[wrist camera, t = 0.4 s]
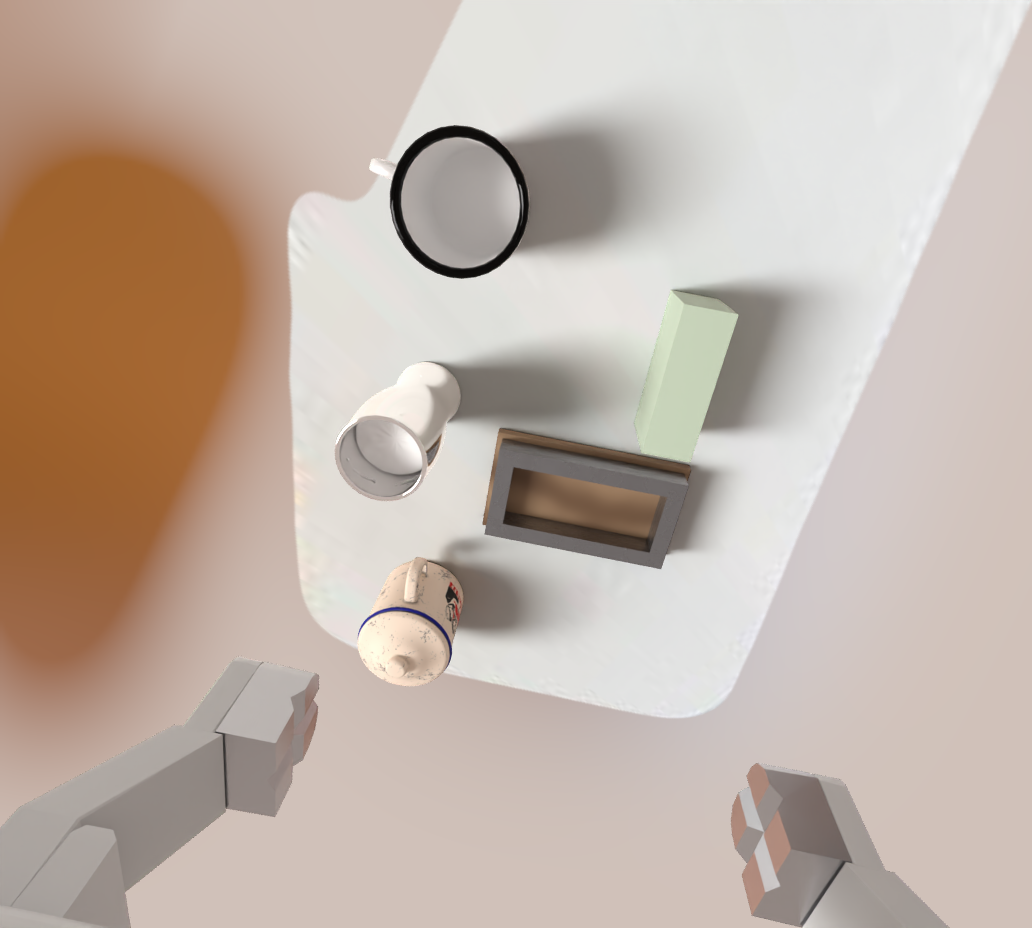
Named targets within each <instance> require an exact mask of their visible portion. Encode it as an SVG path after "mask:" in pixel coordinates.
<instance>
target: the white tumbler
mask: <svg viewBox="0 0 1032 928" xmlns="http://www.w3.org/2000/svg"><path fill="white" fill-rule="evenodd" d="M460 401H461V393H460V388H459V385H458V382H457V380H456V379H455V377H454V376H453V375H452V374H451V373H450V372H449V371H448V370H447V369H446V368H444V367H442V366H441V365H438V364H435V363H431V362H420V363H416V364H413V365H411V366H409V367H408V368H406V369H405V370H404V371H403V372H402V373H401V375H400V376H399V378H398V380H397V383H396V385H394V386H391V387H389V388H386V389H384V390H382V391H380V392H379V393H377V394H375V395H374V396H372V397H371V398H370V399H368V400H367V401H366V402H365V403H364V404H363V405H362V406H361V407H360V408H359V409H358V410H357V411H356V413H355V414H354V415H353V416H352V418H351V419H350V421H349V422H348V424H347V425H346V426H345V427H344V428H343V430H342V431H341V432H340V434H339V436H338V438H337V441H336V445H335V460H336V464H337V467H338V470H339V472H340V474H341V475H342V477H343V478H344V480H345V481H346V482H347V483H348V484H349V485H350V486H351V487H352V488H353V489H354V490H356V491H357V492H358V493H360V494H362V495H364V496H366V497H368V498H371V499H375V500H380V501H394V500H399V499H402V498H405V497H407V496H409V495H410V494H412V493H413V492H414V491H416V490H417V489H418V487H419V486H420V485H421V483H422V482H423V480H424V479H425V477H426V476H427V475H428V473H429V472H430V471H431V469H432V468H433V466H434V464H435V463H436V461H437V459H438V457H439V455H440V453H441V450H442V448H443V445H444V441H445V436H446V427H447V421H449V420H450V419H451V418H452V417H453V416H454V415H455V413H456V412H457V410H458V408H459V405H460Z"/></svg>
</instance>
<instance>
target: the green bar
mask: <svg viewBox="0 0 1032 928" xmlns="http://www.w3.org/2000/svg"><path fill="white" fill-rule="evenodd" d="M738 316H739V314H737V313H736V312H735V311H733V310H732V309H731V308H730V307H728V306H727V305H726V304H724V303H723V302H722V301H720V300H719V299H716V298H711V297H705V296H700V295H695V294H690V293H685V292H679V291H674V290H671V291H670V294H669V298H668V302H667V305H666V309H665V312H664V316H663V320H662V323H661V327H660V331H659V334H658V338H657V341H656V345H655V349H654V352H653V356H652V360H651V363H650V367H649V370H648V374H647V378H646V381H645V385H644V389H643V392H642V396H641V400H640V403H639V407H638V410H637V414H636V418H635V421H634V425H635V429H636V433H637V437H638V442H639V446H640V450H641V453H643V454H648V455H654V456H659V457H664V458H669V459H674V460H679V461H684V462H689V463H690V462H691V459H692V455H693V452H694V449H695V446H696V443H697V440H698V437H699V434H700V431H701V428H702V425H703V422H704V419H705V416H706V413H707V410H708V407H709V404H710V401H711V398H712V395H713V392H714V389H715V386H716V382H717V379H718V376H719V373H720V370H721V367H722V364H723V361H724V358H725V355H726V352H727V349H728V346H729V343H730V340H731V337H732V334H733V331H734V328H735V325H736V322H737V319H738Z"/></svg>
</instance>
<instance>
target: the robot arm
mask: <svg viewBox="0 0 1032 928" xmlns="http://www.w3.org/2000/svg"><path fill="white" fill-rule="evenodd" d="M318 689H319V675H318V674H316V673H312V672H308V671H303V670H299V669H295V668H290V667H286V666H281V665H277V664H273V663H269V662H263V661H258V660H254V659H249V658H245V657H240V656H238V657H236V658H235V659H234V660H232V661H231V662H230V663H229V664H228V666H227V667H226V668H225V670H224V671H223V672H222V674H221V675H220V676H219V678H218V679H217V680H216V682H215V683H214V684H213V686H212V687H211V688H210V690H209V691H208V693H207V694H206V695H205V697H204V698H203V699H202V701H201V702H200V704H199V705H198V706H197V707H196V709H195V710H194V711H193V713H192V714H191V715H190V717H189V718H188V719H187V721H186V722H185V724H184V725H183V726H180V725H173V726H171V727H169V728H167V729H165V730H163V731H162V732H160V733H157V734H156V735H154V736H152V737H150V738H148V739H146V740H144V741H143V742H141V743H139V744H137V745H135V746H133V747H131V748H129V749H127V750H126V751H124V752H122V753H120V754H118V755H116V756H115V757H112V758H111V759H109V760H107V761H105V762H103V763H101V764H99V765H98V766H96V767H94V768H92V769H90V770H88V771H86V772H85V773H82V774H80V775H79V776H77V777H75V778H73V779H71V780H69V781H67V782H65V783H64V784H62V785H60V786H58V787H56V788H54V789H53V790H51V791H49V792H47V793H45V794H43V795H41V796H39V797H37V798H36V799H34V800H32V801H30V802H28V803H26V804H24V805H22V806H20V807H19V808H18V809H17V810H16V811H15V812H14V814H12V815H11V817H10V818H9V819H8V820H7V821H6V822H5V824H3V825H2V826H1V828H0V928H131V926H130V920H129V914H128V907H127V901H126V895H125V892H126V891H127V890H128V889H130V888H131V887H132V886H133V885H135V884H136V883H137V882H139V881H140V880H141V879H142V878H144V877H145V876H146V875H147V874H149V873H150V872H151V871H152V870H153V869H155V868H156V867H157V866H159V865H160V864H161V863H162V862H164V861H165V860H166V859H167V858H169V857H170V856H171V855H172V854H173V853H175V852H176V851H177V850H178V849H180V848H181V847H182V846H184V845H185V844H186V843H187V842H188V841H190V840H191V839H192V838H194V837H195V836H196V835H197V834H199V833H200V832H201V831H202V830H204V829H205V828H206V827H207V826H209V825H210V824H211V823H212V822H214V821H215V820H216V819H217V818H218V817H220V816H221V815H222V814H223V813H225V811H226V809H232V810H238V811H243V812H249V813H255V814H261V815H267V816H272V817H275V816H276V814H277V812H278V810H279V808H280V806H281V804H282V801H283V799H284V798H285V795H286V793H287V791H288V789H289V787H290V785H291V783H292V770H293V766H294V765H296V764H297V763H299V762H300V761H302V760H303V758H304V756H305V754H306V752H307V750H308V747H309V745H310V742H311V739H312V736H313V733H314V730H315V726H316V721H317V714H318V706H317V704H316V703H315V702H314V700H313V699H314V697H315V695H316V693H317V691H318ZM747 779H748V783H749V786H750V787H748V788H746V789H744V790H742V791H740V792H739V793H738V795H737V797H736V799H735V801H734V804H733V808H732V817H731V827H732V836H733V840H734V845H735V849H736V850H737V851H738V853H739V854H740V855H741V856H742V858H743V859H744V860H745V861H746V863H747V865H746V867H745V869H744V871H743V874H742V878H743V882H744V886H745V890H746V893H747V898H748V902H749V906H750V910H751V914H752V916H756V917H760V918H764V919H768V920H773V921H777V922H781V923H785V924H790V925H794V926H798V927H802V928H949V927H948V926H947V925H946V924H945V923H944V922H943V921H942V920H941V919H940V918H939V917H938V916H937V915H936V914H935V913H934V912H933V911H932V910H931V909H930V908H929V907H928V906H927V905H926V904H925V903H924V902H923V901H922V900H921V899H920V898H919V897H918V896H917V895H916V894H915V893H914V892H913V891H912V890H911V889H910V888H909V887H908V886H907V885H906V884H905V883H904V882H903V881H902V880H901V879H900V878H899V877H898V876H897V875H896V874H895V873H894V872H890V871H886V870H885V868H884V866H883V864H882V862H881V860H880V857H879V855H878V853H877V851H876V849H875V847H874V844H873V842H872V840H871V838H870V836H869V834H868V831H867V829H866V827H865V825H864V823H863V821H862V819H861V816H860V814H859V812H858V810H857V808H856V806H855V803H854V802H853V799H852V797H851V795H850V793H849V791H848V788H847V786H846V785H845V784H844V783H843V782H842V781H841V780H840V779H837V778H831V777H826V776H821V775H816V774H810V773H807V772H802V771H797V770H791V769H787V768H781V767H776V766H770V765H766V764H760V763H756V764H755V765H753V766H752V767H751V769H750V771H749V773H748V775H747Z"/></svg>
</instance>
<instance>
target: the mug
mask: <svg viewBox="0 0 1032 928" xmlns="http://www.w3.org/2000/svg"><path fill="white" fill-rule="evenodd" d="M370 170H371V171H373V172H375V173H377V174H379V175H381V176H383V177H385V178H388V179H390V180H392V184H391V189H390V209H391V214H392V220H393V223H394V226H395V229H396V231H397V234H398V236H399V238H400V240H401V241H402V243H403V245H404V246H405V248H406V249H407V250H408V251H409V253H410V254H411V255H412V256H413V257H414V258H415V259H416V260H417V261H418V262H419V263H421V264H422V265H423V266H424V267H426V268H428V269H430V270H431V271H433V272H435V273H437V274H440V275H444V276H447V277H452V278H461V279H463V278H472V277H478V276H481V275H484V274H487V273H489V272H491V271H493V270H495V269H496V268H498V267H500V266H501V265H502V264H503V263H504V262H505V261H507V260H508V259H509V258H510V257H511V256H512V254H513V253H514V252H515V250H516V249H517V248H518V246H519V244H520V242H521V240H522V238H523V236H524V234H525V231H526V227H527V223H528V220H529V209H530V197H529V190H528V186H527V182H526V179H525V176H524V173H523V171H522V169H521V167H520V165H519V163H518V161H517V160H516V158H515V157H514V156H513V154H512V153H511V152H510V150H509V149H508V148H507V147H506V146H505V145H504V144H503V143H501V142H500V141H499V140H498V139H497V138H495V137H493V136H492V135H490V134H488V133H487V132H485V131H482V130H479V129H476V128H473V127H468V126H457V125H454V126H447V127H440V128H438V129H435V130H433V131H430V132H427V133H426V134H424V135H423V136H421V137H420V138H418V139H417V140H416V141H415V142H414V143H413V144H412V145H411V146H410V147H409V148H408V149H407V150H406V151H405V153H404V154H403V156H402V157H401V159H400V161H399V162H398V164H396V163H393V162H391V161H388V160H384V159H379V158H372V160H371V164H370Z"/></svg>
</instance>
